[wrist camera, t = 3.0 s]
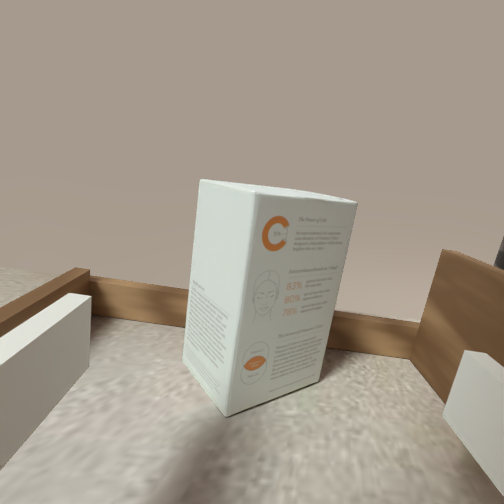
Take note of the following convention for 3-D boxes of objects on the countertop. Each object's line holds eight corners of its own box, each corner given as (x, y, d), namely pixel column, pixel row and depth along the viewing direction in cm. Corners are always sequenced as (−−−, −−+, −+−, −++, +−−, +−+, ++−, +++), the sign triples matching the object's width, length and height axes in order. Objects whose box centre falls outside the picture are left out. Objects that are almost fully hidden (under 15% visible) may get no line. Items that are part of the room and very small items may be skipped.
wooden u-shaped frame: (416, 353, 30) (448, 247, 27) (508, 459, 19) (575, 299, 16) (82, 306, 29) (84, 193, 27) (-23, 387, 18) (-35, 209, 16)
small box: (266, 340, 28) (293, 188, 25) (320, 383, 23) (362, 201, 20) (178, 360, 23) (197, 176, 20) (223, 421, 18) (257, 190, 15)
